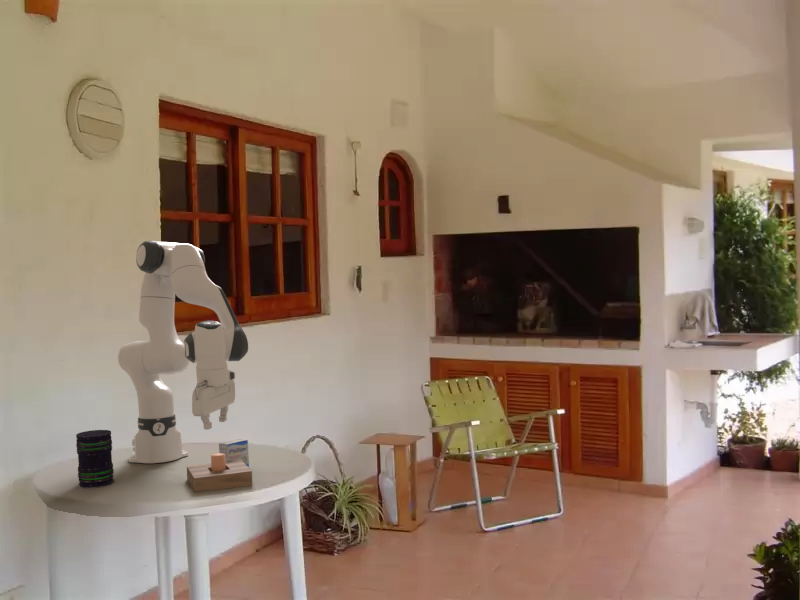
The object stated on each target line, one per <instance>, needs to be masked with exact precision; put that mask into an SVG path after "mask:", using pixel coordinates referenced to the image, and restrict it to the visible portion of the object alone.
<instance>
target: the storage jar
mask: <svg viewBox="0 0 800 600" xmlns="http://www.w3.org/2000/svg"><path fill="white" fill-rule="evenodd" d="M75 436H76V437H75V438H76V439H75V440H76V454H77V456H78V457H77V460H78V467H77V472H78V473H77V478H78V481H79V483H78V487H79V486H80V487H79V488H82V487H83V489H93V488H95V489H97V488H102V487H101V486H103V487H107V486H110V485H112V484H113V483H114V482H115V479H114V472H115V471H114V463H113V462H112V461H113V460H112V459H113V457H112V456H113V455H112V451H113V441H112V440H113V439H112V431H111V430H109V429H94V430H86V431H82V432H78V433H76V434H75ZM106 485H107V486H106Z"/></svg>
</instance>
